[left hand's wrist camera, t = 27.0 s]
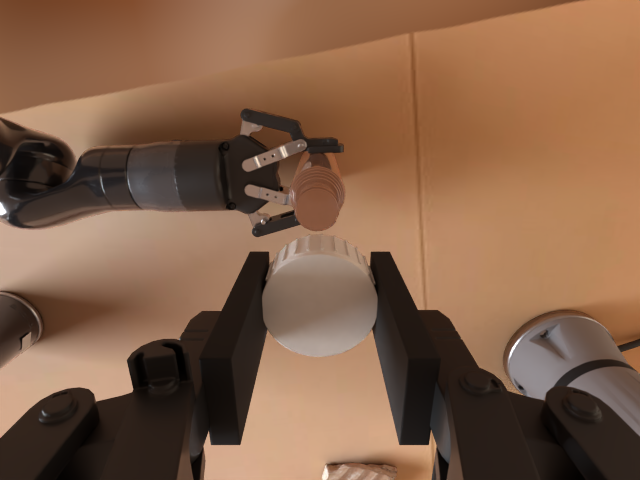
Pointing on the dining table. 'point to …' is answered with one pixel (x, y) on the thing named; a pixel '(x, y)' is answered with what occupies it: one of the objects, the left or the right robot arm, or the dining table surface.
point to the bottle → (317, 191)
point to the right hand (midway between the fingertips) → (342, 172)
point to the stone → (359, 472)
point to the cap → (319, 296)
